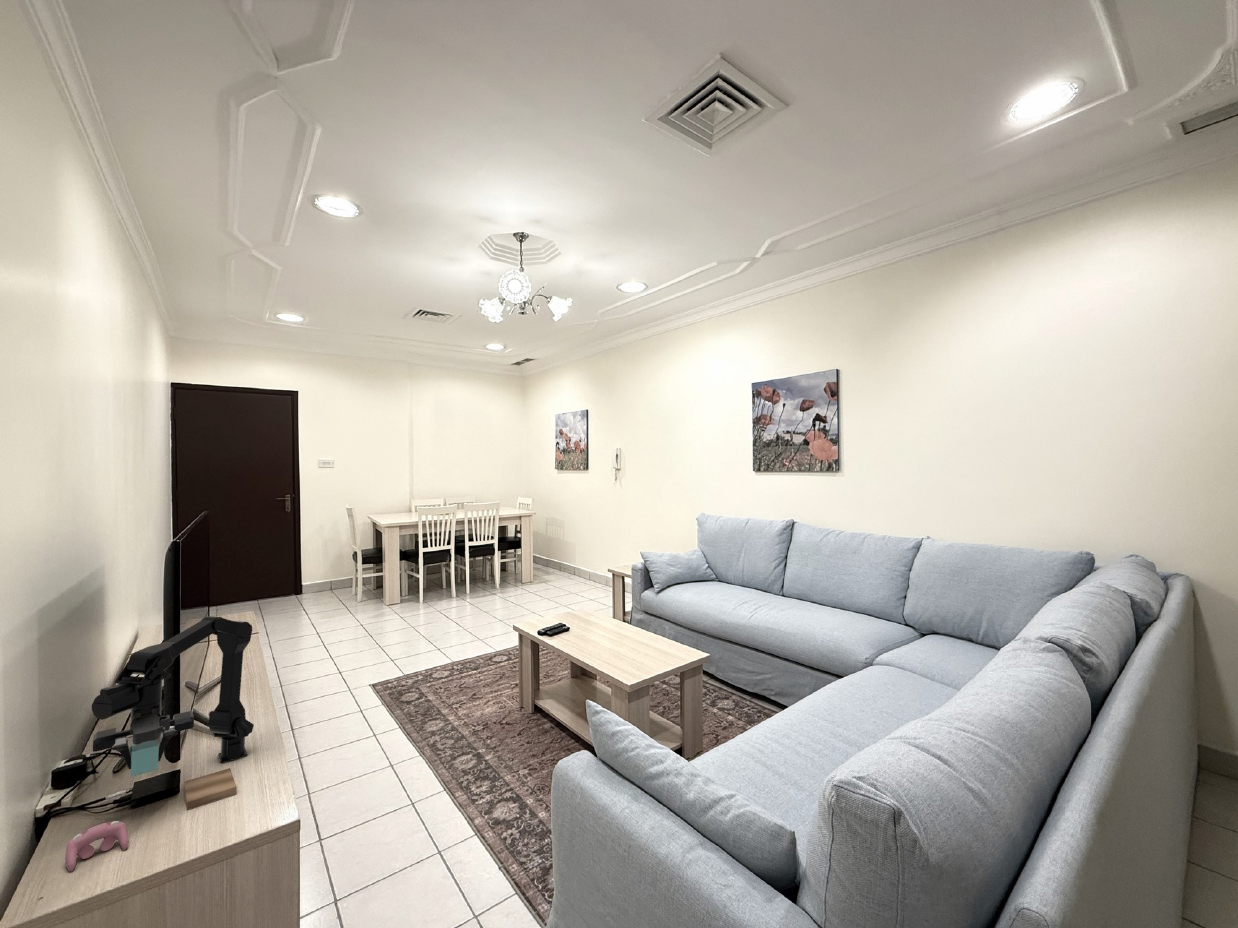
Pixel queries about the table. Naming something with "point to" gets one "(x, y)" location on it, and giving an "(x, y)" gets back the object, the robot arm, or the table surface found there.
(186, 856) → the table surface
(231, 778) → the base plinth
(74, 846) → the video game controller
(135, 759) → the teal block
